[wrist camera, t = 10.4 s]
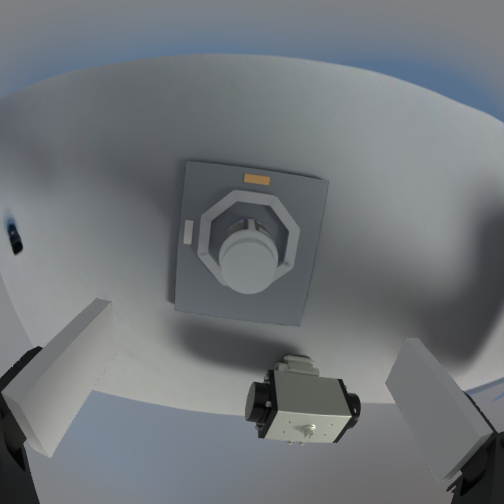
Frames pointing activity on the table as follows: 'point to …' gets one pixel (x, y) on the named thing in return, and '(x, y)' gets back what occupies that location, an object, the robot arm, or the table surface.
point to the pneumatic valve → (301, 404)
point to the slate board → (237, 208)
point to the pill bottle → (248, 257)
